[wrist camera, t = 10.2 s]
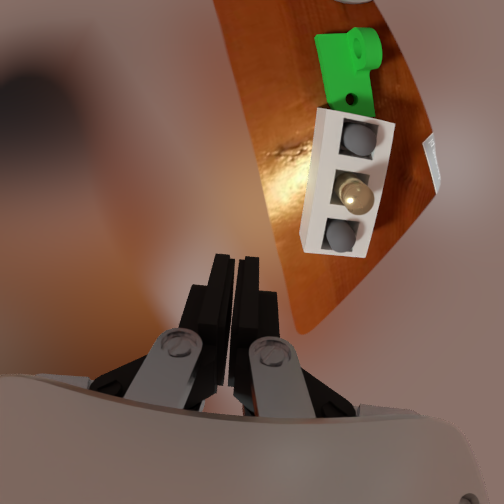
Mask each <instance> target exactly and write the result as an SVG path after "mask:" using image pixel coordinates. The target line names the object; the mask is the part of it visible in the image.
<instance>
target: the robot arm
mask: <svg viewBox="0 0 504 504" xmlns="http://www.w3.org/2000/svg"><path fill="white" fill-rule="evenodd" d="M335 1H339V2H342V3H348V4H362V3H367V2H370V1H372V0H335ZM234 266H235V259H230V255H226V254H216V255H215V258H214V262H213V266H212V270H211V273H210V277H209V281H208V285H207V286H204V285H194V284H193V285H192V287H191V290H190V293H189V296H188V299H187V302H186V305H185V308H184V311H183V314H182V317H181V321H180V324H179V327H178V328H173V329H170V330H166V331H165V332H164V333H162V334H161V335H160V336H159V337H158V338H157V340H156V342H155V343H154V345H153V347H152V348H151V350H150V352H149V353H148V354H147V355H145V356H143V357H141V358H139V359H137V360H135V361H132V362H130V363H128V364H126V365H123V366H121V367H119V368H117V369H115V370H112V371H110V372H108V373H106V374H104V375H101V376H100V377H98V378H96V379H95V380H90V379H89V377H77V376H64V375H63V376H62V375H52V374H37V375H35V376H34V375H26V374H5V375H0V504H490V503H489V498H488V494H487V490H486V486H485V482H484V479H483V476H482V473H481V470H480V467H479V464H478V461H477V459H476V456H475V454H474V451H473V449H472V447H471V445H470V443H469V441H468V439H467V438H466V436H465V435H464V433H463V432H462V431H461V430H460V428H459V427H457V426H456V425H454V424H453V423H451V422H448V421H446V420H443V419H440V418H435V417H430V416H424V415H420V414H418V413H417V412H415V411H412V410H407V409H398V408H388V407H379V406H372V405H364V404H360V405H359V407H357V406H353V405H352V404H351V403H350V402H349V401H348V400H346V399H345V398H343V397H342V396H341V395H339V394H338V393H336V392H335V391H333V390H332V389H331V388H329V387H328V386H326V385H325V384H323V383H322V382H321V381H319V380H318V379H316V378H315V377H313V376H312V375H311V374H309V373H308V372H307V371H305V370H304V369H302V368H301V366H300V363H299V360H298V357H297V354H296V351H295V349H294V347H293V346H292V345H291V344H290V343H289V342H288V341H286V340H284V339H281V338H280V334H279V319H278V302H277V292H271V291H259V257H249V256H246V257H245V260H241V259H240V260H239V267H238V275H237V283H236V291H235V299H234V307H233V316H232V325H231V315H232V300H233V283H234ZM230 325H231V339H230V358H229V375H228V386H231V387H234V394H233V395H234V397H236V398H237V399H238V400H239V401H240V402H241V403H242V412H243V416H236V415H225V414H214V413H207V412H202V410H203V408H204V404H205V399H206V398H208V397H210V396H211V395H213V394H215V393H216V392H217V385H221V386H223V383H224V375H225V366H226V358H227V357H226V356H227V350H228V341H229V333H230Z"/></svg>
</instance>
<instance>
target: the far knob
mask: <svg viewBox="0 0 504 504" xmlns="http://www.w3.org/2000/svg"><path fill="white" fill-rule="evenodd" d="M324 232H325V235H326V237H327V239H328V242H329V244H330V246H331V248H332V249H333V250H334V251H336V252H339V253H343V252H347V251H349V250H350V249H351V248H352V247H353V246H354V245H355V242H356V236H355V233H354V232H353V230H352V228H351V227H350V225H349V224H348V222H347V221H346V220H342V219H333V218H327V221H326V226H325V231H324Z"/></svg>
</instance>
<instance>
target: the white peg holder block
mask: <svg viewBox="0 0 504 504" xmlns="http://www.w3.org/2000/svg"><path fill="white" fill-rule="evenodd" d="M344 122H352V123H355V124H359V125H362V126H365V127H368V128H370V129H371V130H372V131H373V132H374V134H375V136H376V140H377V143H376V147H375V149H374V151H373V152H372V153H370V154H369V155H366V156H359V155H357V154H355V153H353V152H352V151H350V150H349V149H347V148H345V147H344V146H342V145H341V144H340V140H341V133H342V126H343V123H344ZM394 128H395V123H391V122H387V121H383V120H378V119H374V118H370V117H365V116H361V115H356V114H351V113H346V112H341V111H335V110H330V109H324V108H317V115H316V123H315V130H314V138H313V146H312V153H311V160H310V167H309V174H308V181H307V187H306V194H305V200H304V207H303V213H302V219H301V225H300V231H299V234H300V238H301V242H302V246H303V250H304V252H307V253H318V254H329V255H340V256H351V257H362V258H365V257H366V253H367V250H368V246H369V243H370V239H371V235H372V232H373V228H374V224H375V220H376V216H377V212H378V208H379V204H380V199H381V195H382V191H383V186H384V181H385V177H386V172H387V167H388V162H389V157H390V151H391V146H392V140H393V134H394ZM345 172H349V173H352V174H354V175H355V176H357V177H358V178H359V179H360V180H361V181H362V182H363V183H364V184H365V185H366V186H368V187H369V188H370V189H371V190H372V192H373V194H374V198H375V201H374V205H373V207H372V209H371V210H370V211H369V212H367V213H366V214H363V215H354V214H352V213H350V212H349V211H348V210H347V208H346V207H345V205H344V204H343V202H342V201H341V200H340V198H339V197H338V196H337V194H336V193H335V191H334V186H333V185H334V181H335V179H336V177H337V176H338V175H340V174H342V173H345ZM327 218H333V219H342V220H346V221H347V222H348V224H349V225H350V227H351V228H352V230H353V232H354V233H355V236H356V242H355V245H354V246H353V247H352V248H351V249H350V250H349V251H347V252H343V253H339V252H336V251H334V250H333V249H332V248H331V246H330V244H329V242H328V239H327V237H326V235H325V232H324V231H325V226H326V221H327Z"/></svg>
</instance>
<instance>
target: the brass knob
mask: <svg viewBox="0 0 504 504" xmlns="http://www.w3.org/2000/svg"><path fill="white" fill-rule="evenodd" d="M333 186H334V191H335V193H336V194H337V196H338V197H339V198H340V200H341V201H342V202H343V204H344V205H345V207H346V208H347V210H348V211H349V212H350V213H352V214H354V215H363V214H366V213H367V212H369V211H370V210H371V209H372V207H373V205H374V201H375V198H374V194H373V192H372V190H371V189H370V188H369V187H368V186H366V185H365V184H364V183H363V182H362V181H361V180H360V179H359V178H358V177H357V176H355V175H354V174H352V173H349V172H345V173H342V174H340V175H338V176H337V177H336V179H335V181H334V185H333Z"/></svg>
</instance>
